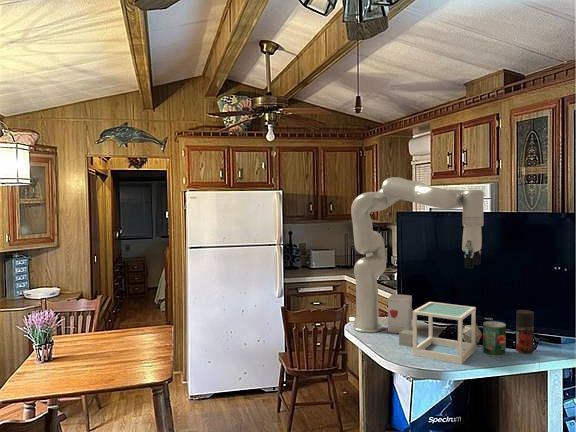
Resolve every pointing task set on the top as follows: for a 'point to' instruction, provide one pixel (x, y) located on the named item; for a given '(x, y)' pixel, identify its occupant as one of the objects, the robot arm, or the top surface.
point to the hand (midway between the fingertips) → (472, 266)
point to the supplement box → (399, 313)
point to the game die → (467, 334)
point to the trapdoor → (444, 310)
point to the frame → (461, 356)
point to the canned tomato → (494, 338)
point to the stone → (406, 338)
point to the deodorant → (525, 331)
